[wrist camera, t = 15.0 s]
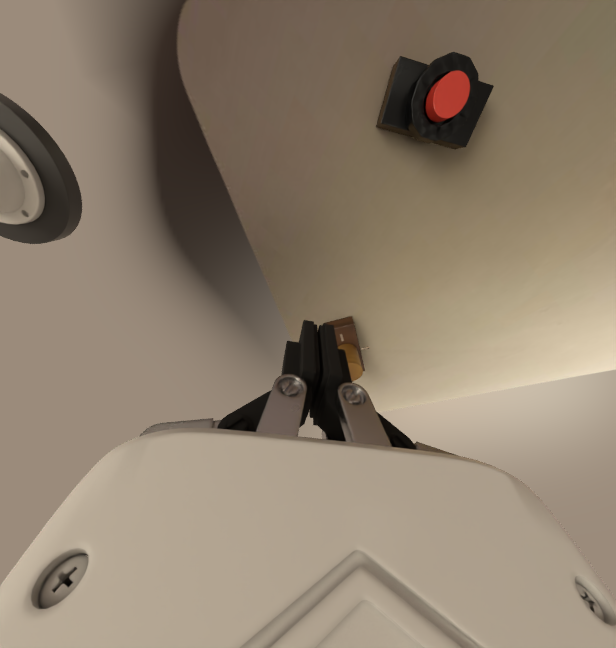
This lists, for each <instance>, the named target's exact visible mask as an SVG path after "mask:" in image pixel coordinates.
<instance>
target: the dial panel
mask: <svg viewBox="0 0 616 648" xmlns="http://www.w3.org/2000/svg"><path fill="white" fill-rule="evenodd" d="M325 324H331V325H334V330H335V335H336V341H337V346H340V345H342V344H352V345H354V346H355V347H356V348H357V351H358V355H359V358H360V362H361V366H362V369H363V371H365V368H364V364H363V360H362V356H361V351H360V347H359V343H358V339H357V334H356V330H355V326H354V322H353V319H352V316H351V317H347V318H343V319H339V320H335V321H331V322H327V323H325ZM365 349H369V346H368V347H364V348H361V350H365Z"/></svg>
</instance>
